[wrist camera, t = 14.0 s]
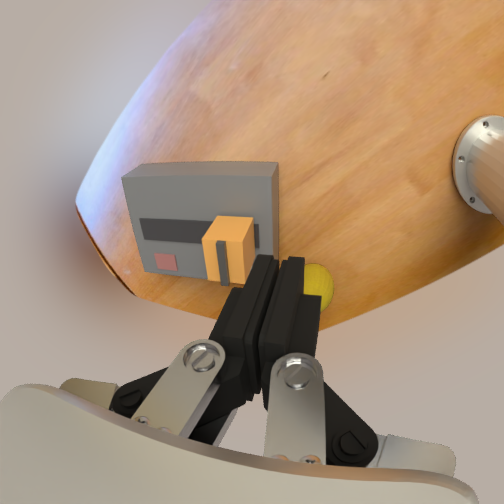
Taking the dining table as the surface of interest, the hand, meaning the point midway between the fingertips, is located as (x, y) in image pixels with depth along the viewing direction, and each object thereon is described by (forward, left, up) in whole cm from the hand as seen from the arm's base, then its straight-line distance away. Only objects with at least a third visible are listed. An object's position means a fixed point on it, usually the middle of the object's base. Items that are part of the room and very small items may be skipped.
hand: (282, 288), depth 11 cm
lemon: (-1, +18, -26) cm, 31 cm away
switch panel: (+13, +10, -25) cm, 30 cm away
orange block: (+8, +10, -20) cm, 23 cm away
